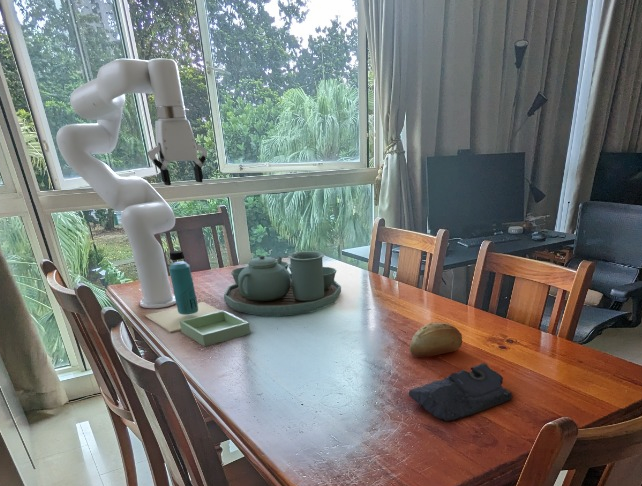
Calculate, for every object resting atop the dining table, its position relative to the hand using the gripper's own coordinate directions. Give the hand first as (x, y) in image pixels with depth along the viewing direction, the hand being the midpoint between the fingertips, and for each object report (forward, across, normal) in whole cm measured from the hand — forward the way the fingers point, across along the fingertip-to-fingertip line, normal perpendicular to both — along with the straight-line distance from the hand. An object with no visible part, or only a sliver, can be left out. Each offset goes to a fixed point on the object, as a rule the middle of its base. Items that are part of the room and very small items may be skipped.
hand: (183, 183), depth 148 cm
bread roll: (+38, -29, +75) cm, 89 cm away
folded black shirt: (+38, -14, +95) cm, 103 cm away
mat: (+38, +7, +1) cm, 39 cm away
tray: (+38, +7, +20) cm, 44 cm away
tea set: (+38, -26, +6) cm, 47 cm away
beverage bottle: (+38, +7, +2) cm, 39 cm away
